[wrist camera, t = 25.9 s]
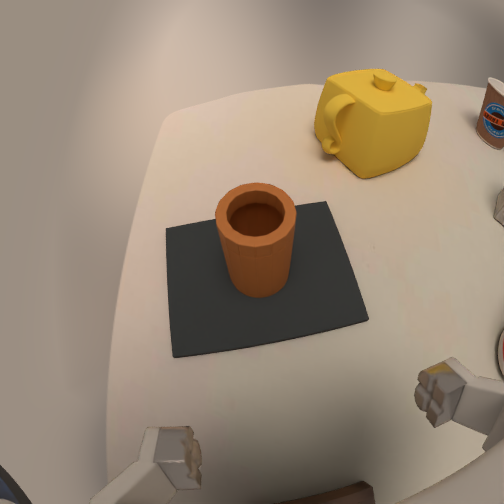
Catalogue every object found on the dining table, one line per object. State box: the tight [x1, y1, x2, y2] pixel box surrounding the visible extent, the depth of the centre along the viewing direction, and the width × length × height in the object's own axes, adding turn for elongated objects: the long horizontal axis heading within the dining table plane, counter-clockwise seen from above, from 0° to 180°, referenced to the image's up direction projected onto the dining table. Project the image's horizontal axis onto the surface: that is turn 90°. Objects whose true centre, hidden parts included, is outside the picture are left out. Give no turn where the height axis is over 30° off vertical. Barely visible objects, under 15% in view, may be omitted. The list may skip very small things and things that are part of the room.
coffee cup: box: [476, 78, 504, 149], centre depth 35 cm, size 10×10×12 cm
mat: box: [166, 201, 369, 358], centre depth 28 cm, size 18×14×1 cm
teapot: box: [314, 69, 432, 179], centre depth 33 cm, size 20×12×12 cm, turn 119°
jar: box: [215, 183, 297, 298], centre depth 24 cm, size 6×6×9 cm
